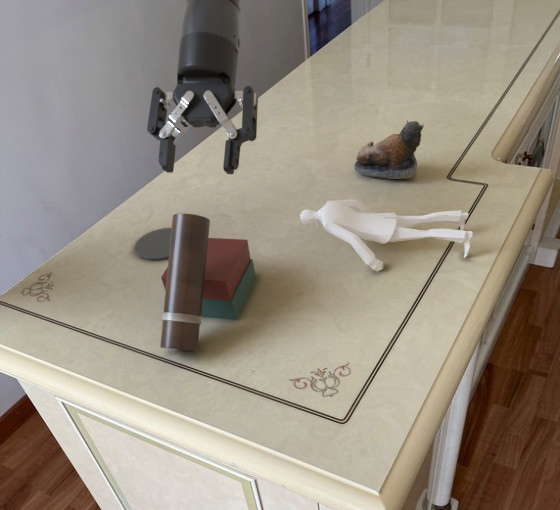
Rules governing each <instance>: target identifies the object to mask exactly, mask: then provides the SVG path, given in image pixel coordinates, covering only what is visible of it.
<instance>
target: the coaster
mask: <svg viewBox="0 0 560 510" xmlns="http://www.w3.org/2000/svg"><path fill="white" fill-rule="evenodd" d="M171 229H172V227H167V228H159V229H155V230H152V231H149V232H147V233H146V234H144V235H143V236H141V237H140V238H139V239H138V240H137V241H136V243H135V245H134V251H135V254H136V256H137V257H138V258H140V259H142V260H144V261H147V262H161V261H166V260H169V250H170V239H171Z"/></svg>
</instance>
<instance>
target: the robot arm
mask: <svg viewBox="0 0 560 510" xmlns="http://www.w3.org/2000/svg"><path fill="white" fill-rule="evenodd" d="M241 9H242V0H185V6H184V11H183V15H182V20H181V27H180V28H181V29H180V40H179V49H178V50H179V51H178V61H177V62H178V63H177V71H176V77H177V78H176V81H177V82H176V86H175V88H174V90H173V91H168V90H167V91H166V90H162V89H161V88H160V87H159V86H156V87H154V88H153V89H152V93H151V100H150V106H149V113H148V120H147V126H146V131H147V133H149V135H151V136H152V137H153V138H155V139H156V140H157V141H159V149H158V151H159V153H158V164H159V165H160V167H161V169H162V170H163V171H164V172H165V173H168V174H169V173H172V174H173V173H174V168H175V157H176V150H177V149H176V148H177V147H176V145H175V143H177V141H178V139H179V138H180V137H181V136H182V135H184V134H186V133H187V132H188V130H189V129H190V128H191V127H193V128H203V127H207V128H217V126H219V125H220V126H221V127H222V129H223V130H224V132H225V134H226V135H227V137H228V139H225V145H224V146H225V147H224V153H223V163H222V164H223V166H222V169H223V172H225V173H226V174H227V175H234V173H235V171H237V170H238V168H239V165H240V156H241V155H240V154H241V147H242V146H243V144H244V143H246V142H248V141H250V142H254V141H256V139H257V132H258V111H259V110H258V107H259V98H258V96H257V93H256V92H255V90H254V89H253V88H252V86H251V85H247V86H245V87H244V88H243V90H236V89H235V87H236V81H237V73H238V63H239V62H238V61H239V53H240V52H239V51H240V48H241V39H240V38H241ZM173 103H174V104H175V108H174V109H173V110H172V112H170V114H169V115H167V114H168V110H171V108H172V104H173ZM237 103H238V105H239V107H240V108H241V109H242V112H241V115H242V116H241V127H240V128H236V126H235V124H234V122H233V121H232V120H231V118H230V115H229V113H230V112H232V109H233V108H234V107H235V105H236V104H237ZM167 116H168V117H167ZM182 118H183V119H182ZM166 121H167V122H166Z"/></svg>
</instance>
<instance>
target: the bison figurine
mask: <svg viewBox="0 0 560 510" xmlns="http://www.w3.org/2000/svg"><path fill="white" fill-rule="evenodd" d="M424 126H425V125H424V122H422V123H421V124H420V123H419V122H418V121H417V120H413V121H409V120H406V121H405V125H404V126H403V127H402V129H401V130H400V131H399V133H392V134H391V135H389V136H387V137H386V138H384V139H383V140H381V141H378V142H376V143H374V142H373V140H372V141H368V142H367V143H366V144H364V145H363V146H361V148H360V149H359V150H358V153H357V155H356V161H355V163H354V165H353V168H354V171H355V172H356V173H358V174H360V175H363V176H365V177H373V178H380V179H390V180H406V179H407V180H409V179H412V178H413V177H414V176H415V174H416V171H417V168H418V160H417V158H416V155H415V152H416V151H417V149H418V147H419V146H420V145H421V141H422V139H421V138H422V130H423V129H424Z"/></svg>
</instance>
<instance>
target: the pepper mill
mask: <svg viewBox="0 0 560 510" xmlns="http://www.w3.org/2000/svg"><path fill="white" fill-rule="evenodd" d="M210 225H211V220H210V218H208V217H205V216H201V215H198V214H192V213H175V214H173V215H172V220H171V228H172V229H171V239H170V250H169V259H167V260H168V262H167V267H168V271H167V281H166V291H164V292H165V293H164V304H163V312H162V313H161V321H162V323H161V334H160V345H159V347H160V348H161V349H173V350H182V351H192V352H198V350H199V349H198V348H199V340H200V339H199V338H200V329H201V325H202V320H203V317H201V309H202V299H203V289H204V279H205V268H206V258H207V248H208V238H210V237H209V235H210Z"/></svg>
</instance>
